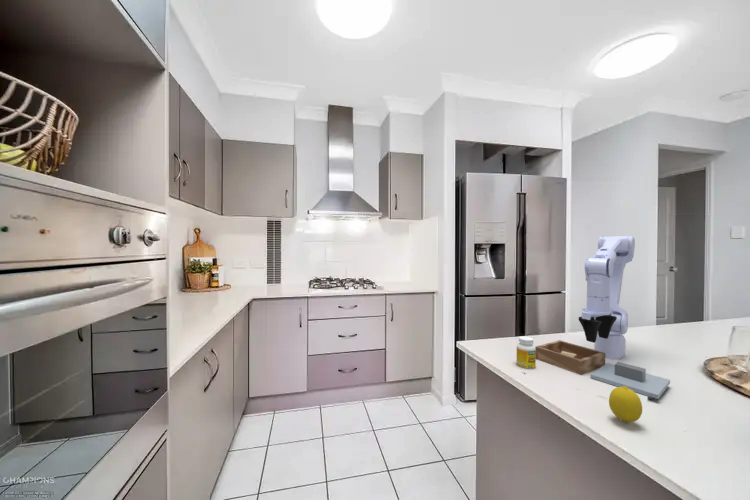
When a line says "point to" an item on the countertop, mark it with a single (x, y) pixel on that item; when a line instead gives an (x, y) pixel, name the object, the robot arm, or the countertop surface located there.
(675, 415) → the countertop surface
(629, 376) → the lid
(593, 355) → the box
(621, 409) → the lemon
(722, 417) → the countertop surface
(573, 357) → the block
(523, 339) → the supplement bottle
